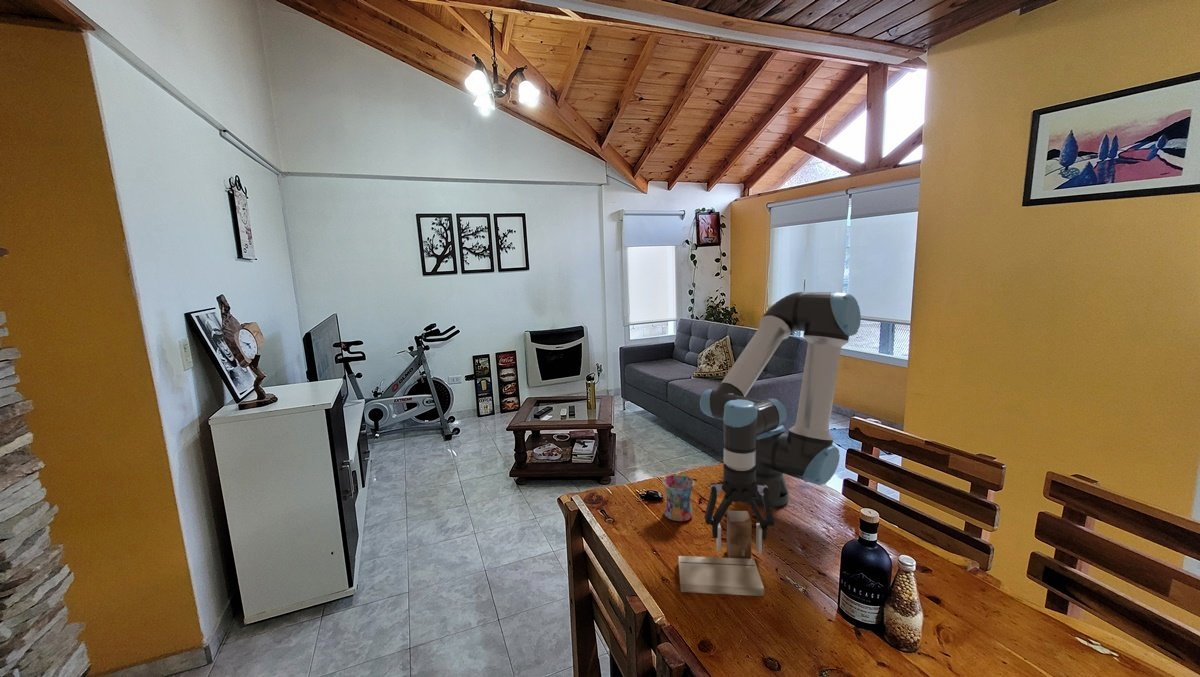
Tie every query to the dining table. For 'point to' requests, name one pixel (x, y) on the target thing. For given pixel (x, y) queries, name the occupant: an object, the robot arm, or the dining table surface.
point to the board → (719, 576)
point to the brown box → (739, 534)
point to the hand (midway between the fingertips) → (738, 549)
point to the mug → (678, 497)
